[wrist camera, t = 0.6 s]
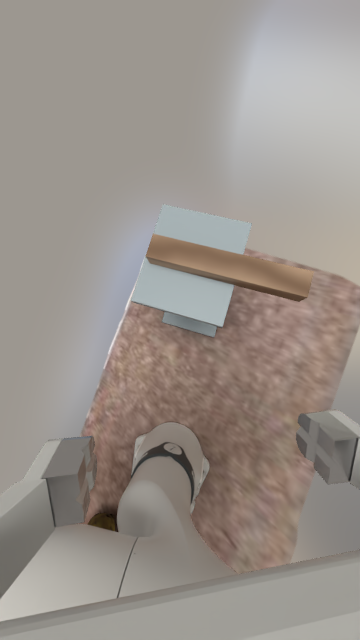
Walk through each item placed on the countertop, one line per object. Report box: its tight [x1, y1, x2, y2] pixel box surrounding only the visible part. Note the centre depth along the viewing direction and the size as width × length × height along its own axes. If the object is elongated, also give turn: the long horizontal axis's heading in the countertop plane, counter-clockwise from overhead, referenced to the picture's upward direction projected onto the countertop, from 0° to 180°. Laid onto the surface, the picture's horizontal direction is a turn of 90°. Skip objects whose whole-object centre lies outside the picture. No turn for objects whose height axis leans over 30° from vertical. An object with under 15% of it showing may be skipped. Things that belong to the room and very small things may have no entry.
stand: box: [131, 204, 252, 337], centre depth 45 cm, size 16×14×26 cm
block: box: [146, 234, 314, 302], centre depth 30 cm, size 4×22×2 cm, turn 73°
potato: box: [87, 513, 115, 531], centre depth 49 cm, size 8×13×8 cm, turn 152°
